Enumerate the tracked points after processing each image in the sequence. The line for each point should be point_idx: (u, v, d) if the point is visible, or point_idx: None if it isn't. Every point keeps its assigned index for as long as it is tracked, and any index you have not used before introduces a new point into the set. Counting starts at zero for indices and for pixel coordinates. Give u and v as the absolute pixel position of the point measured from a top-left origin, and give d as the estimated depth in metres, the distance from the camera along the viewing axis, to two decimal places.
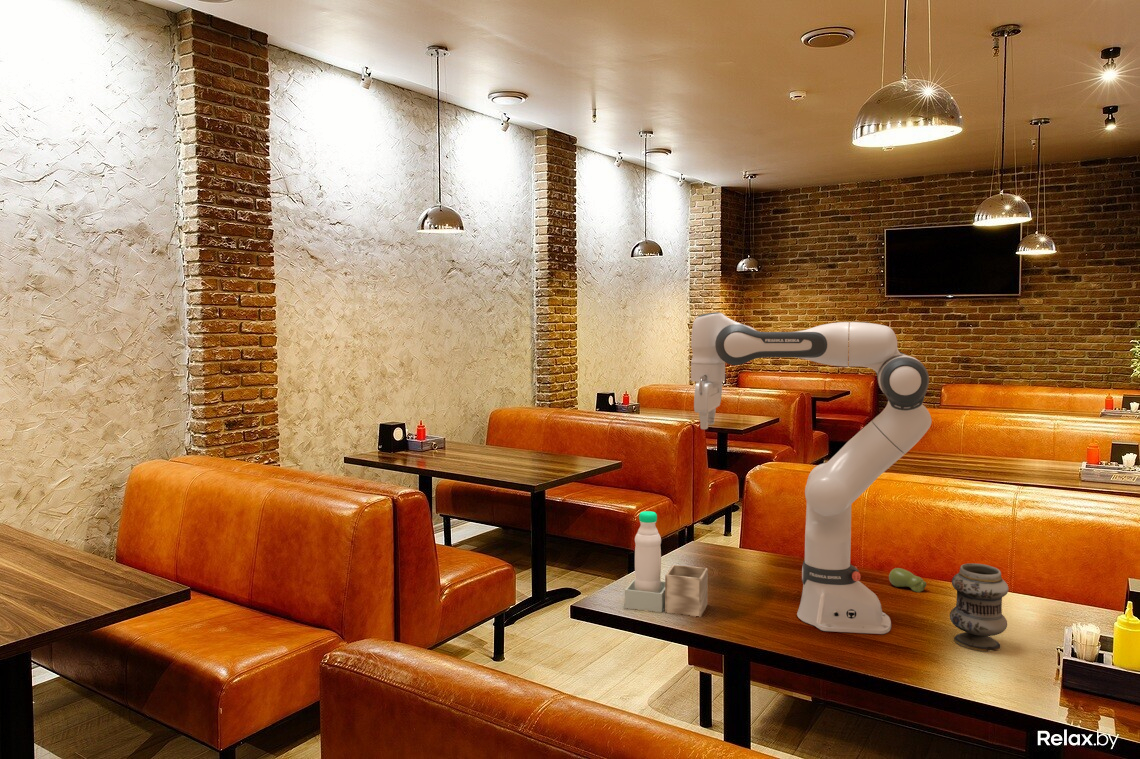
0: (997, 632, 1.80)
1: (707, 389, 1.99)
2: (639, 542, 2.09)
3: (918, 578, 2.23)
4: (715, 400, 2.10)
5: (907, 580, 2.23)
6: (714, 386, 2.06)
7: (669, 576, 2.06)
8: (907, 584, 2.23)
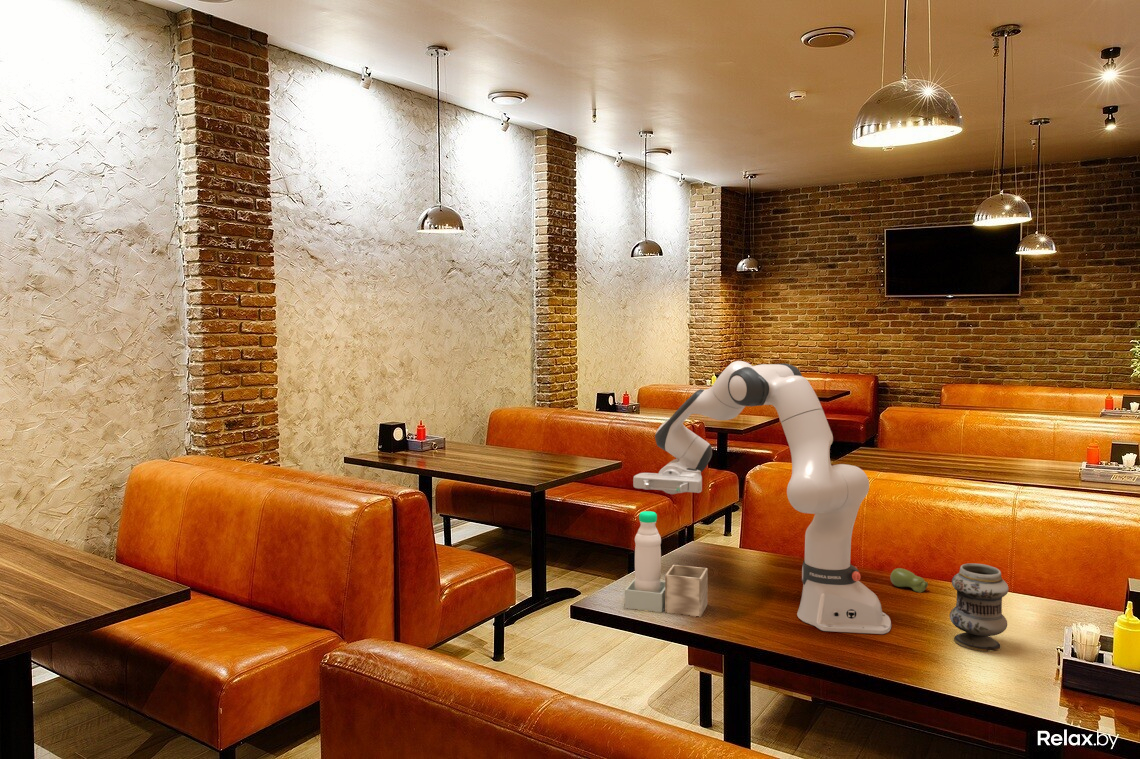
0: (997, 632, 1.80)
1: None
2: (639, 542, 2.09)
3: (919, 578, 2.22)
4: (672, 477, 2.33)
5: (908, 580, 2.23)
6: (662, 473, 2.38)
7: (669, 576, 2.06)
8: (908, 584, 2.23)
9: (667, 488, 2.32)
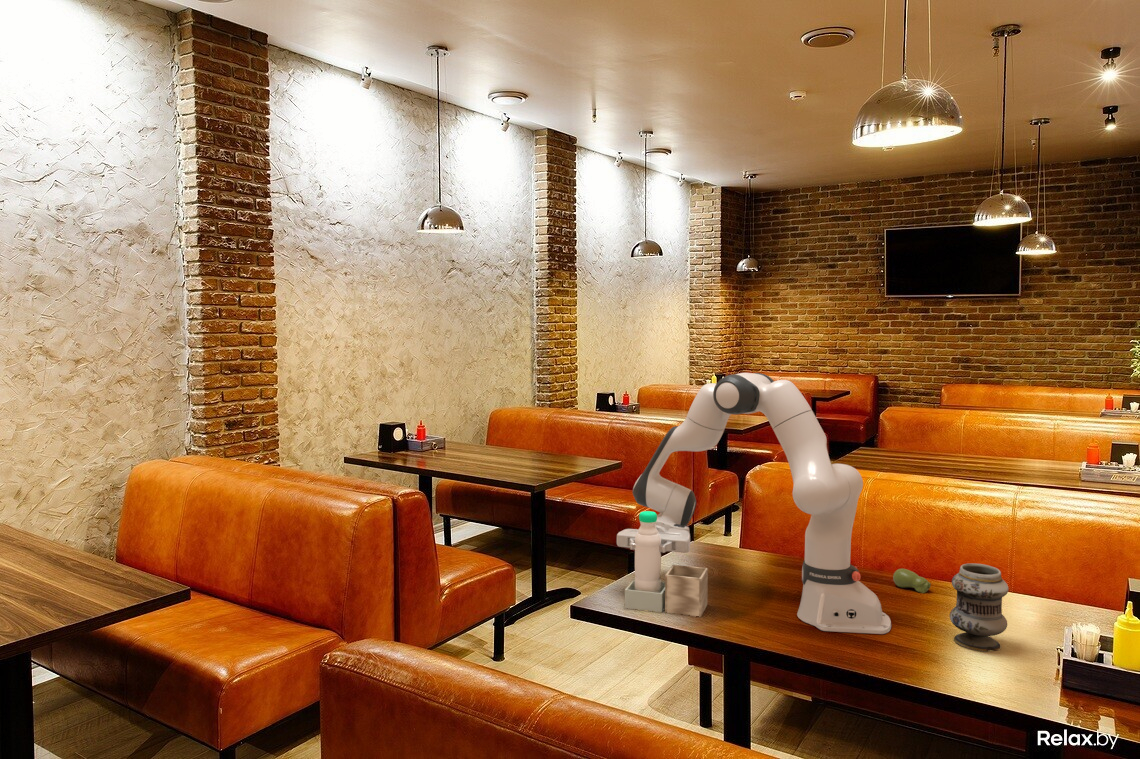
0: (997, 632, 1.80)
1: None
2: (639, 542, 2.09)
3: (922, 579, 2.22)
4: None
5: (911, 581, 2.22)
6: None
7: (669, 576, 2.06)
8: (911, 585, 2.23)
9: None
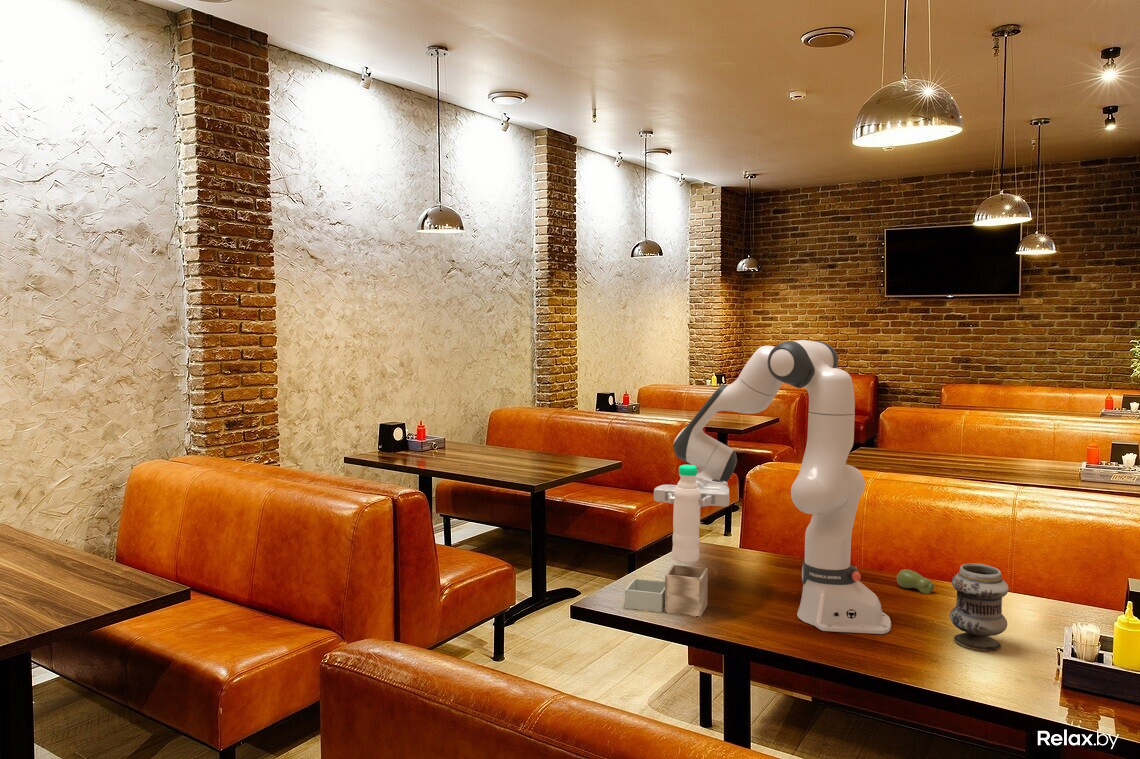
0: (997, 632, 1.80)
1: None
2: (678, 495, 2.05)
3: (926, 580, 2.21)
4: None
5: (915, 581, 2.22)
6: None
7: (669, 576, 2.06)
8: (915, 585, 2.22)
9: None
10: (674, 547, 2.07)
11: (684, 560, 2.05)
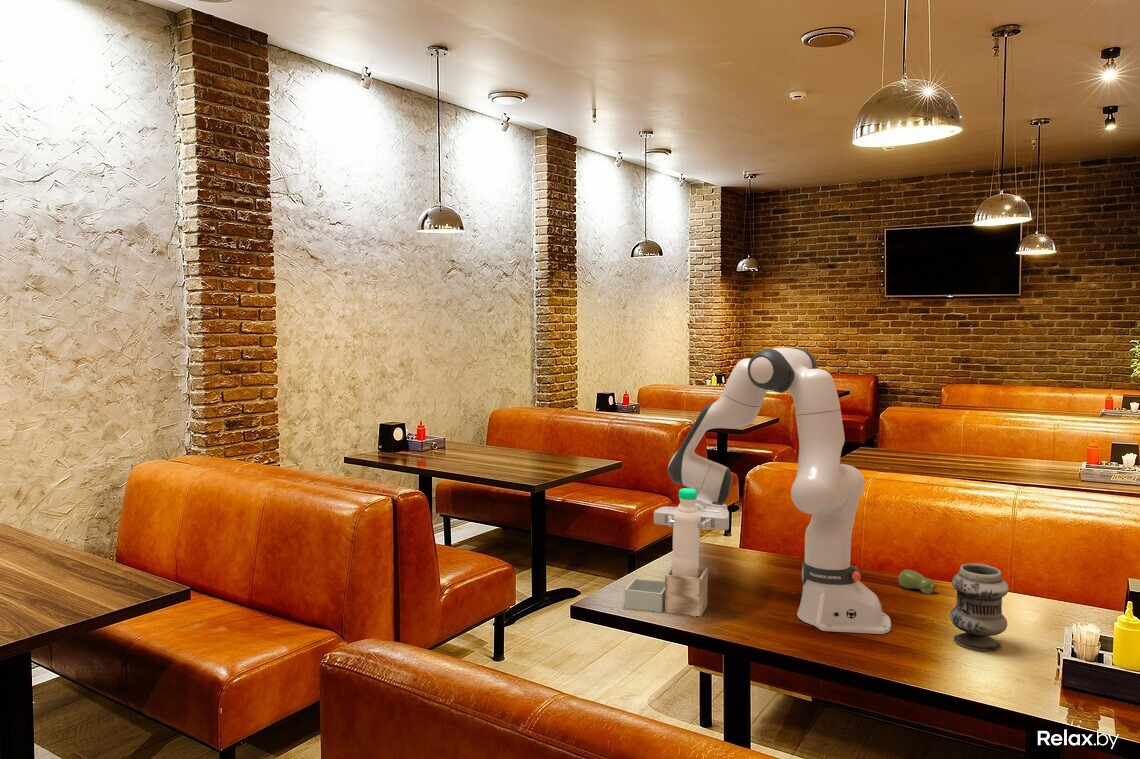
0: (997, 632, 1.80)
1: None
2: (678, 519, 2.05)
3: (928, 580, 2.21)
4: None
5: (917, 582, 2.21)
6: None
7: (669, 576, 2.06)
8: (917, 586, 2.22)
9: None
10: (673, 570, 2.08)
11: None
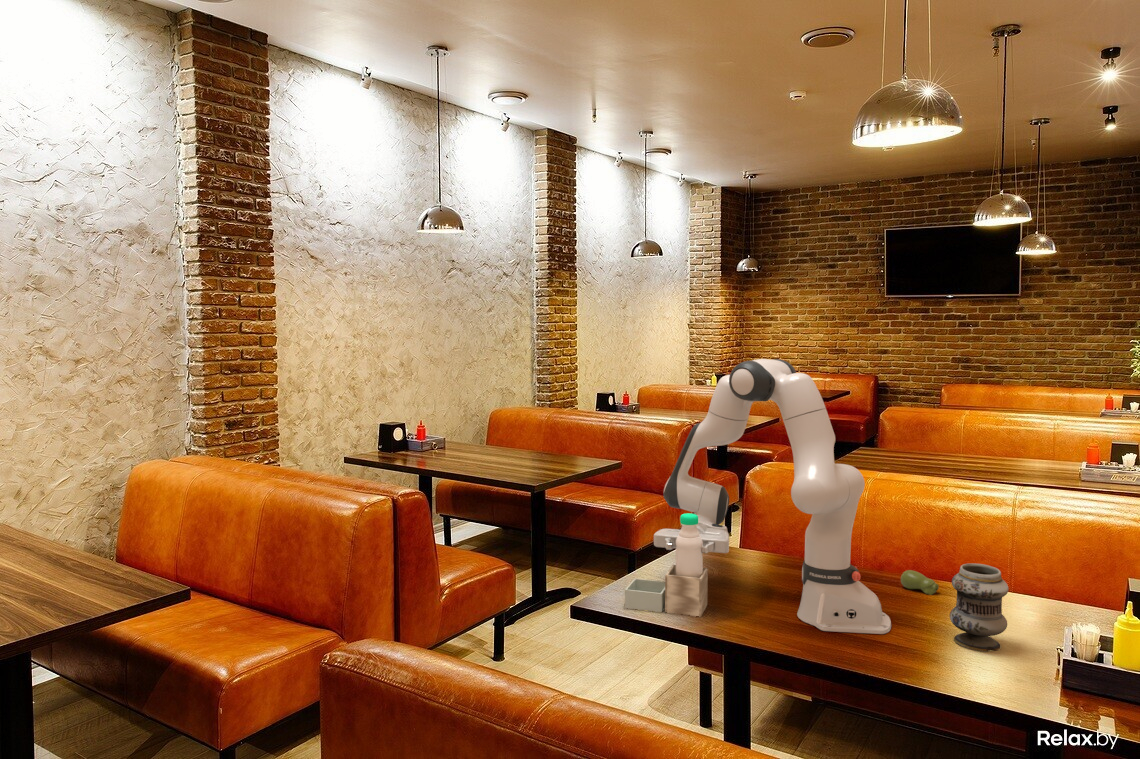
0: (997, 632, 1.80)
1: None
2: (680, 545, 2.06)
3: (930, 580, 2.21)
4: None
5: (919, 582, 2.21)
6: None
7: (669, 576, 2.06)
8: (919, 586, 2.21)
9: None
10: None
11: None
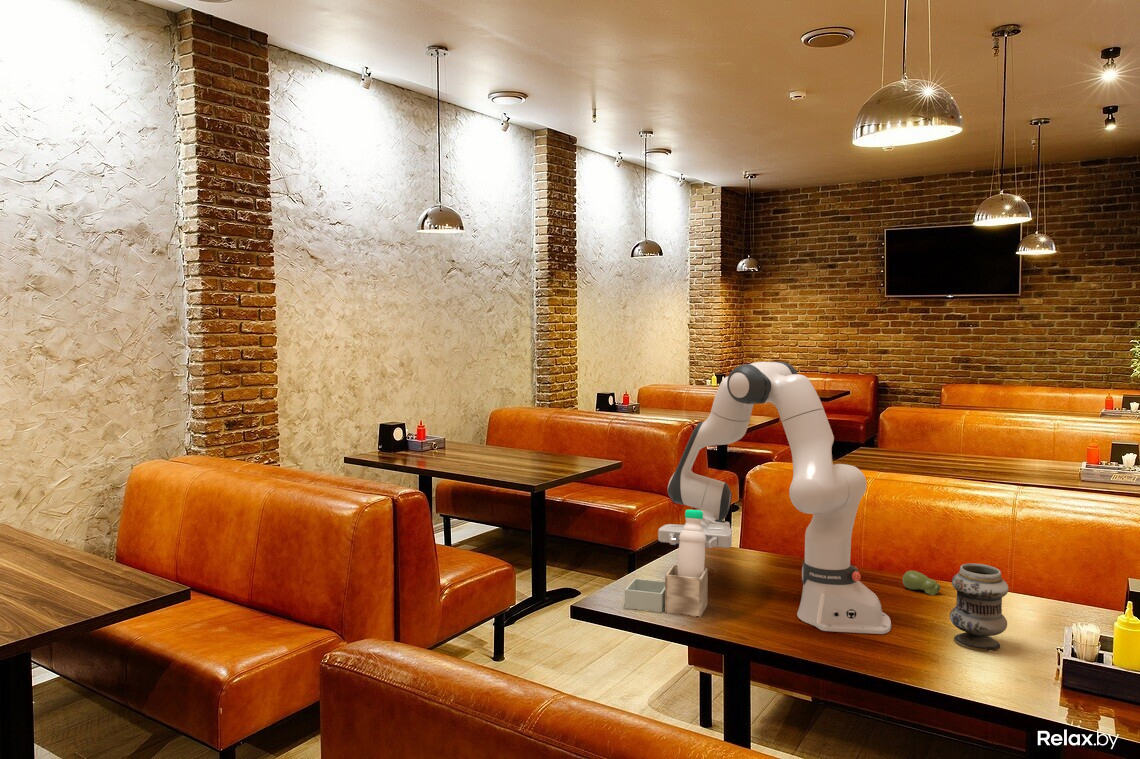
0: (997, 632, 1.80)
1: (665, 525, 2.25)
2: (686, 537, 2.08)
3: (932, 581, 2.20)
4: None
5: (921, 583, 2.21)
6: None
7: (669, 576, 2.06)
8: (921, 587, 2.21)
9: None
10: None
11: None
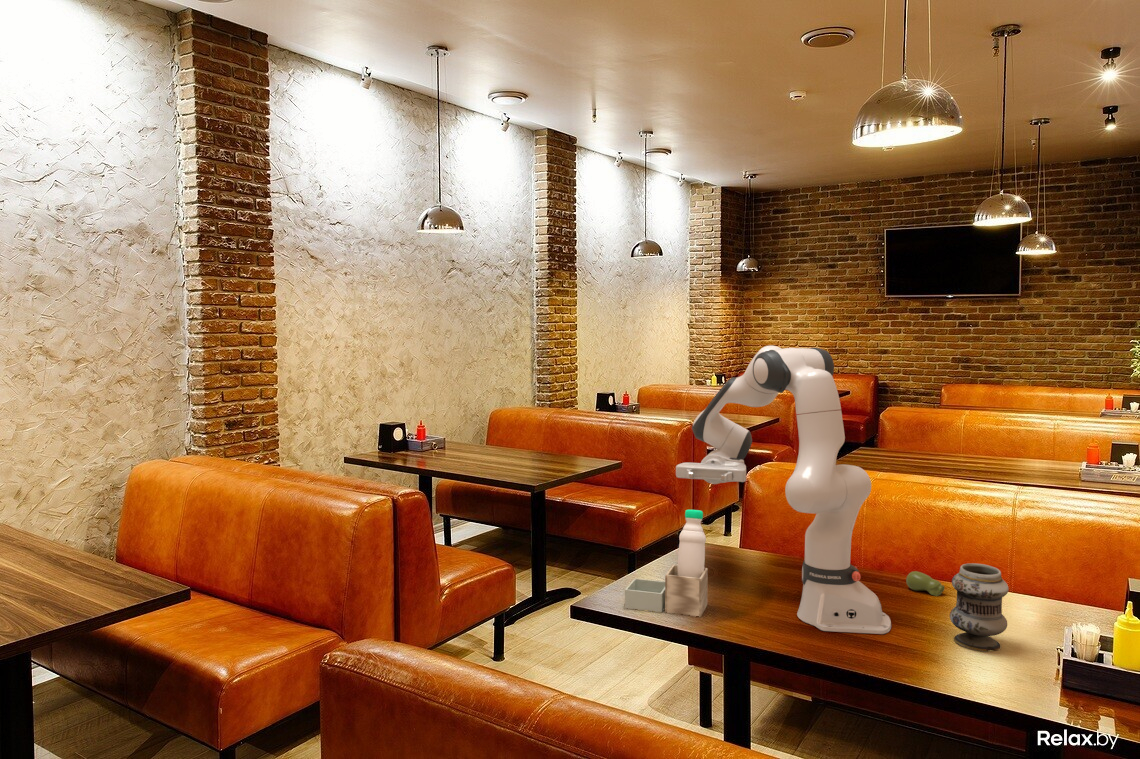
0: (997, 632, 1.80)
1: None
2: (686, 537, 2.08)
3: (936, 582, 2.19)
4: (715, 466, 2.29)
5: (925, 584, 2.20)
6: (705, 462, 2.34)
7: (669, 576, 2.06)
8: (925, 588, 2.20)
9: (711, 477, 2.28)
10: None
11: None
